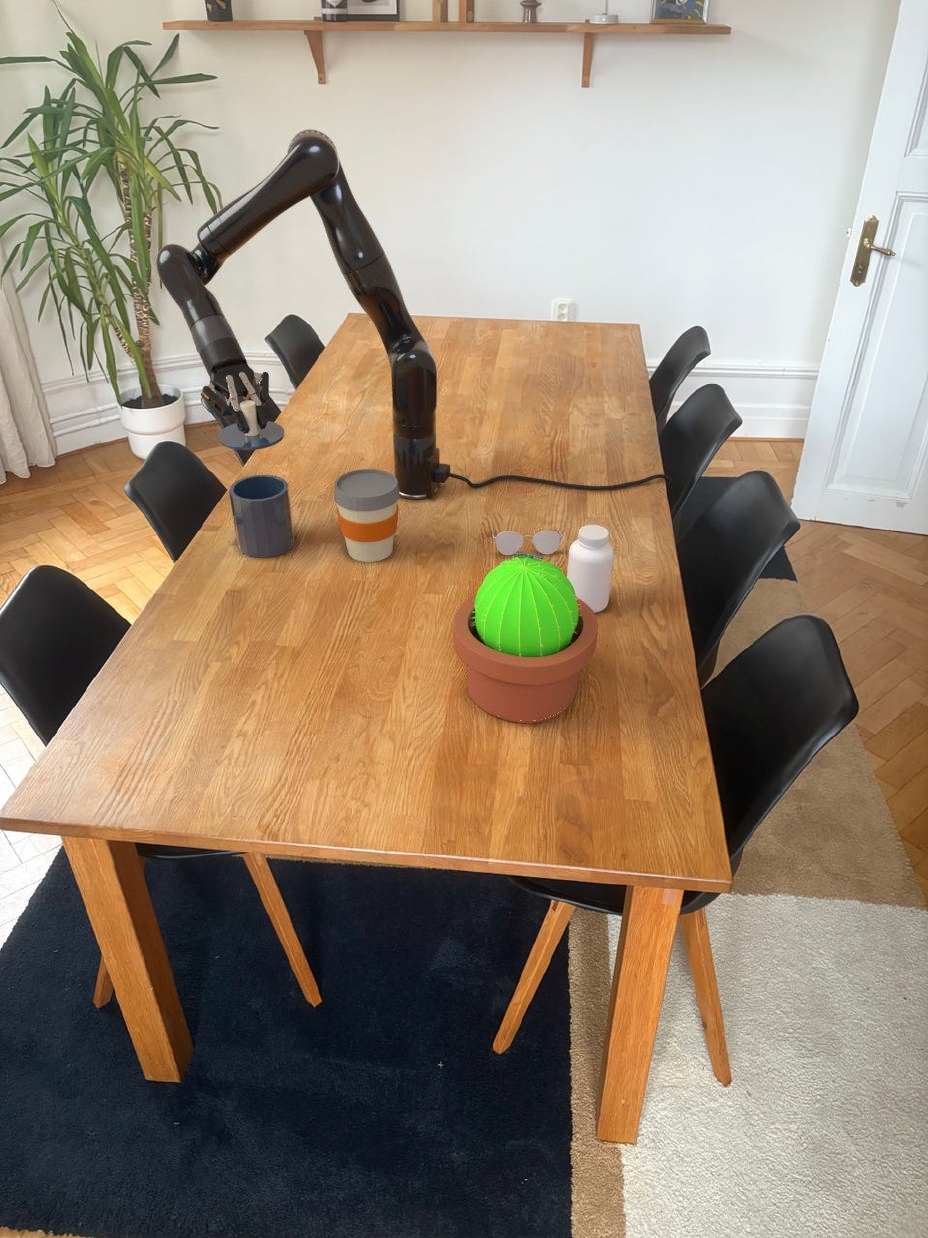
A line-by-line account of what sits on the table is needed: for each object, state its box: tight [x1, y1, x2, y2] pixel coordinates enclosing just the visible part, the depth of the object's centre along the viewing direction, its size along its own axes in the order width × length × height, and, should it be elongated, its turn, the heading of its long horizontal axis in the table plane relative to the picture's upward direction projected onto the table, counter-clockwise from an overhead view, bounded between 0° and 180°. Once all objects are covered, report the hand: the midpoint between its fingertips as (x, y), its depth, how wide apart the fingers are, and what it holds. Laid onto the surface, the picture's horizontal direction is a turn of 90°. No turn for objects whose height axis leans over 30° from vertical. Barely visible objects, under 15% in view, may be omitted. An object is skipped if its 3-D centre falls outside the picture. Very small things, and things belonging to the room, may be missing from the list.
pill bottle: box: [566, 524, 615, 614], centre depth 170 cm, size 8×8×15 cm
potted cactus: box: [452, 552, 599, 724], centre depth 147 cm, size 22×22×25 cm
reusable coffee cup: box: [333, 468, 400, 563], centre depth 185 cm, size 12×13×15 cm
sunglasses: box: [491, 527, 564, 556], centre depth 191 cm, size 14×8×5 cm, turn 93°
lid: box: [218, 400, 286, 451], centre depth 176 cm, size 12×12×7 cm
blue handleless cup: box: [228, 474, 295, 559], centre depth 188 cm, size 11×11×13 cm
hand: (255, 429), depth 176 cm, fingers closed on lid, 3 cm apart
